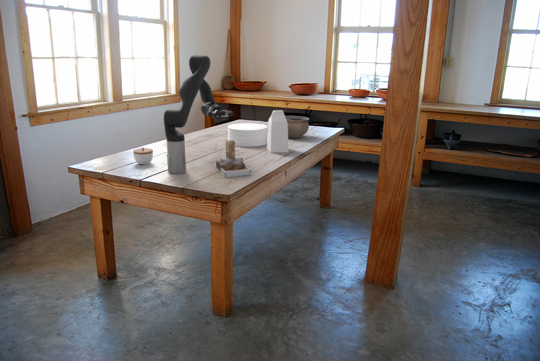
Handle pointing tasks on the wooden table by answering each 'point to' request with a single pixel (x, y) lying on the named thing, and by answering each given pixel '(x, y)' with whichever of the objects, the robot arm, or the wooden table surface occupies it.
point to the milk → (277, 132)
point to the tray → (236, 173)
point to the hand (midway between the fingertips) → (223, 115)
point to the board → (229, 166)
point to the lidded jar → (143, 155)
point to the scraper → (231, 154)
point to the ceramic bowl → (297, 126)
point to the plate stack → (248, 134)
